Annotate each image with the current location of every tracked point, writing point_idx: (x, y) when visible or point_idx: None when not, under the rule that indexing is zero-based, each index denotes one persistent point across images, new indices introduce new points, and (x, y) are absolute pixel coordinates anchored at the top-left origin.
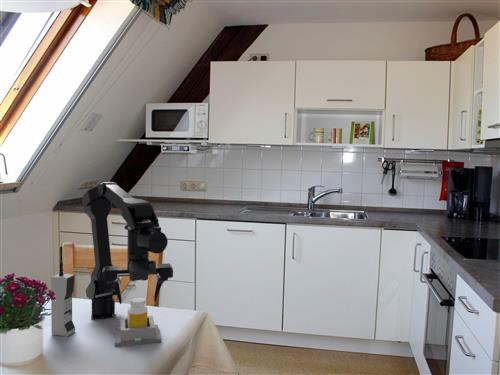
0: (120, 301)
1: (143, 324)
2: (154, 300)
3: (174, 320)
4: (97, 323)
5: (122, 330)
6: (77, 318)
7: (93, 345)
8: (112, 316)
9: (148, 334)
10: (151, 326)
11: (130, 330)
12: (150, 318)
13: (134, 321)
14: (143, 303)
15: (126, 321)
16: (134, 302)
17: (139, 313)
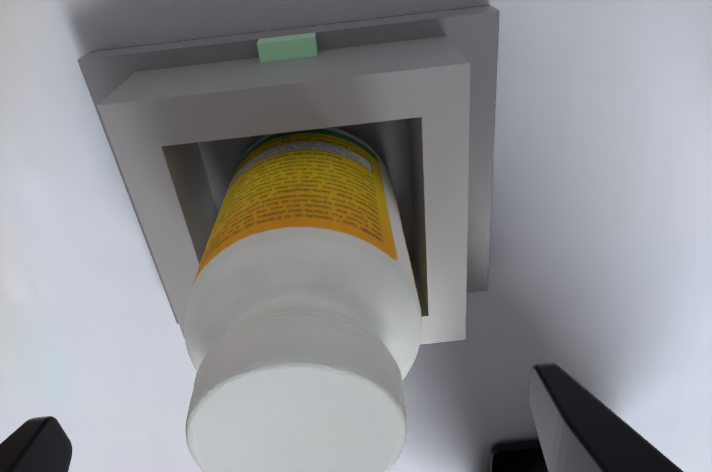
0: (565, 388)
1: (239, 184)
2: (38, 427)
3: (91, 397)
4: (585, 387)
5: (451, 68)
6: (687, 445)
7: (659, 55)
8: (495, 450)
9: (185, 76)
10: (146, 140)
11: (364, 71)
12: None
13: (330, 183)
14: (203, 368)
15: None
16: (338, 364)
17: (265, 234)
